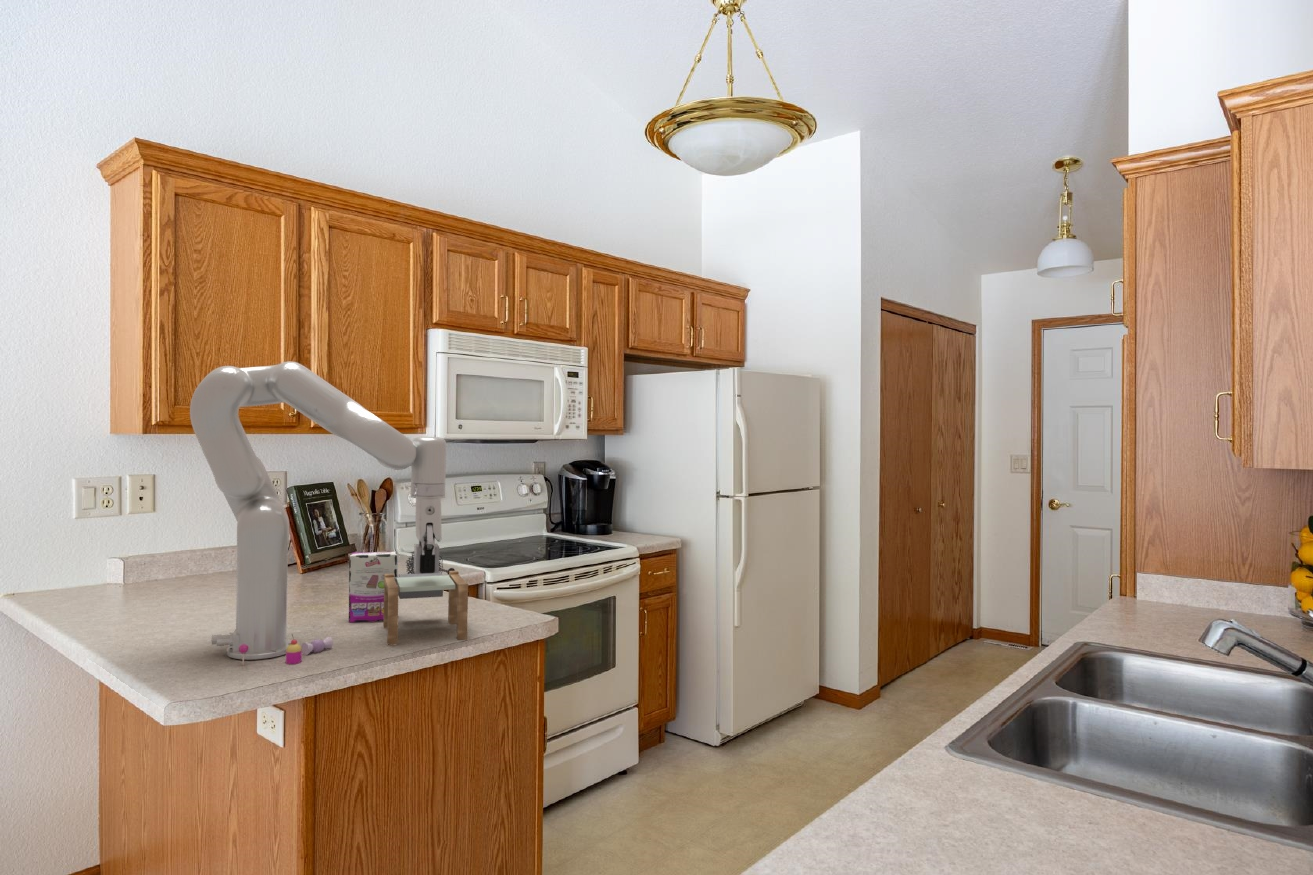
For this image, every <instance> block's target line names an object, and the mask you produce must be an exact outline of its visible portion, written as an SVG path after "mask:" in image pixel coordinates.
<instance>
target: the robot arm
mask: <svg viewBox="0 0 1313 875" xmlns="http://www.w3.org/2000/svg"><path fill="white" fill-rule="evenodd" d="M283 403H285V404H287V406H290V407H291V408H293V409H294V410H296V411H298V412H299V413H300V414H301V415H303V416H304V417H306V418H308V419H309V420H311V421H312V422H314V423H315V424H317V425H319V427H321V428H323V429H325V430H326V431H327V432H329V433H330V434H332V435H334V436H337V437H338V438H341V439H343V440H346V441H347V442H349V443H351V444H353V445H355V446H356V447H358V448H359V449H360V450H362V451H364V452H365V453H367V454H369V455H370V456H372V457H373V458H375V459H376V460H377V462H378V463H379V464H380V465H382V466H383V467H385V468H387V469H390V470H393V471H403V470H405V469H408V468H409V467H410V468H411V472H410V482H411V483H410V498H413V499H415V536H416V538H417V540H418V544H422V555H420V573H434V572H435V544H436V543H435V540H436V541H437V542H438V543H439V542H441V541H442V502H441V500H442V499H444V498H446V469H447V465H446V464H447V442H446V440H445V438H442V437H438V436H437V437H436V436H417V437H411V436H406V435H405V434H403V433H402V432H400V431H399V430H397V429H396V428H395V427H393V426H392V425H390V424H389V423H388V422H386V421H384V420H383V419H382V418H380V417H378V416H377V415H375V414H374V413H372V412H371V411H369V410H367V408H365V407H364V406H363V405H361V404H360V403H359V402H357V401H355V400H354V399H353V398H351V397H350V396H348V395H347V394H345V393H344V392H342V391H341V390H340V389H338V388H337V387H335V386H333V385H332V384H331V383H329V382H328V381H327V380H325V379H323V377H321V376H319V375H318V374H317V373H315V372H314V371H312V370H310V368H307V367H306V366H304V365H303V364H301V363H299V362H298V361H293V360H292V361H288V360H287V361H283V362H280V363H278V364H275V365H274V364H273V365H263V366H251V367H250V366H249V367H238V366H233V365H223V366H219V367H217V368H214V369H213V370H211V371H210V372H209V373H208V374H207V375H206V376H205V377H204V378H203V379H202V380H201V381H200V382H199V384H198V385H197V386H196V388H195V390H194V392H193V394H192V397H191V400H190V405H189V406H190V407H189V417H190V423H191V426H192V430H193V432H194V434H195V437H196V440H197V441H198V443H199V446H200V448H201V451H202V452H203V454H204V455H203V456H204V457H205V459H206V461H207V464H208V465H209V468H210V470H211V472H212V475H213V477H214V482H215V484H216V485H217V488H218V489H219V490H220V491H221V493H223V496H224V498H225V500H226V502H227V505H228V506H229V507H230V510H231V512H232V514H233V516H234V518H235V519H236V522H237V524H236V602H235V603H236V604H235V605H236V608H235V610H236V611H235V612H236V613H235V616H236V619H235V628H234V631H231V632H229V633H228V634H212V636H211V642H210V643H211V646H212V645H216V647H222V646H228V648H227V649H226V655H227V656H228V657H229V658H232V659H235V660H236V659H237V660H243V653H240V651H239V647H240V645H242V644H247V646H248V651H247V652H246V653H244V661H245V660H247V661H253V660H265V659H271V658H277V657H281V656H284V655H286V649H287V647H288V646H289V645H290V644H291V641H292V639H287V626H288V624H287V623H288V622H287V621H288V618H287V617H288V567H289V566H288V565H289V564H288V562H289V561H288V560H289V558H288V556H289V555H288V553H289V540H290V539H289V538H290V519H289V516H288V513H287V511H286V508H285V507H284V505H283V503H282V500H281V498H280V497H279V494H278V493H277V490H276V488H275V485H274V484H273V481H272V480H271V478H270V475H269V473H268V471H267V468H266V467H265V464H264V463H263V461H262V460H261V459H260V458H259V457H258V456H257V454H256V453H255V450H254V448H253V447H252V445H251V443H250V440H249V438H248V436H247V433H246V431H245V429H244V427H243V425H242V422H241V420H240V417H239V410H240V408H245V407H246V408H247V407H254V406H255V407H256V406H266V405H267V406H268V405H275V404H283ZM424 544H427V545H425V546H424Z"/></svg>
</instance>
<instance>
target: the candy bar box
mask: <svg viewBox="0 0 1313 875" xmlns="http://www.w3.org/2000/svg"><path fill="white" fill-rule="evenodd" d="M398 555H399V552H398V551H375V552H374V551H373V552H371V551H370V552H351V553H350V555H349V558H348V561H349V562H348V569H349V570H348V623H367V622H369V623H370V622H384V574H394V579H395V577H399V574H398V572H399V571H398V570H399V568H398V567H399V565H398V564H399V563H398V562H399V561H398V560H399V559H398V558H399V557H398ZM396 584H397V583H396ZM397 586H398V585H397Z"/></svg>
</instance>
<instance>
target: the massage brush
mask: <svg viewBox="0 0 1313 875" xmlns="http://www.w3.org/2000/svg"><path fill="white" fill-rule="evenodd" d="M443 562H444V561H443V558H442V556H441V555H439V572H441V574H442V573H443V572H444V573H447V574H446V575H449V571H456V570H455V568H454V567H450V568H448V569H444V566H443V564H441V563H443ZM405 564H406V567H405V568H406V573H407V574H415V572H414V550H413V551H412V553H411V556H408V558H407V559H406V561H405Z"/></svg>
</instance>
